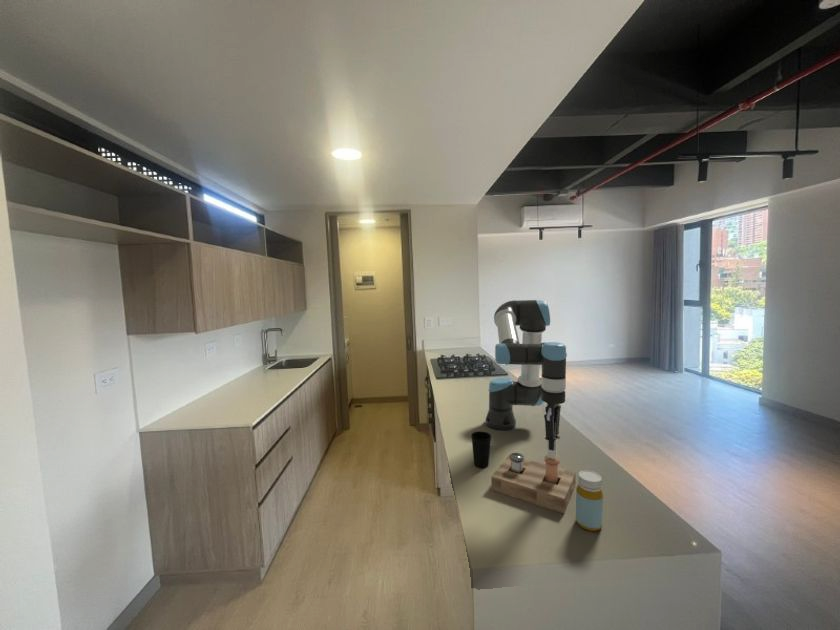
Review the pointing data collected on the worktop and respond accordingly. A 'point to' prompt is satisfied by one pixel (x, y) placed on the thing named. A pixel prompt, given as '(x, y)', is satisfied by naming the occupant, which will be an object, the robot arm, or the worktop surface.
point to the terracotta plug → (551, 470)
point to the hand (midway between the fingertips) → (552, 457)
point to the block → (534, 485)
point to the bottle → (589, 501)
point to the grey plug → (517, 463)
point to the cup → (481, 448)
